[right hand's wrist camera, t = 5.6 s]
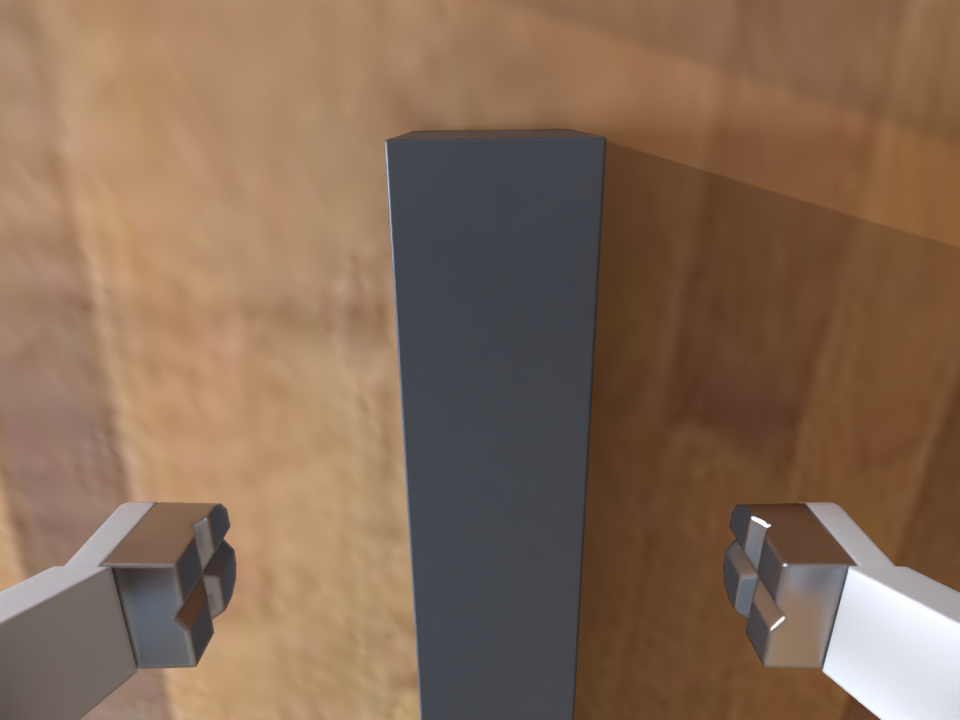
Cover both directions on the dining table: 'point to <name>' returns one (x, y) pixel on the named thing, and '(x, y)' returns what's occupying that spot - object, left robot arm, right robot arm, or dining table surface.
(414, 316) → the beam
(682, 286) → the dining table surface
